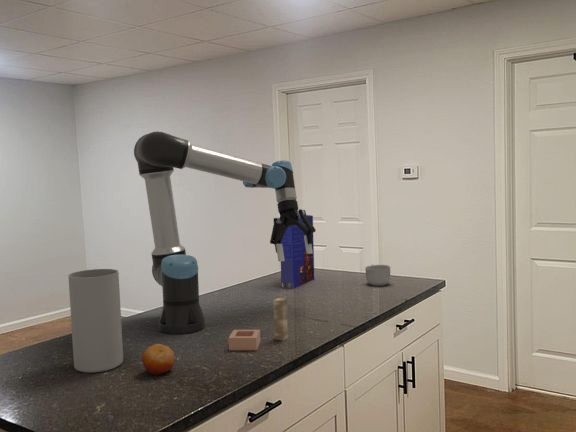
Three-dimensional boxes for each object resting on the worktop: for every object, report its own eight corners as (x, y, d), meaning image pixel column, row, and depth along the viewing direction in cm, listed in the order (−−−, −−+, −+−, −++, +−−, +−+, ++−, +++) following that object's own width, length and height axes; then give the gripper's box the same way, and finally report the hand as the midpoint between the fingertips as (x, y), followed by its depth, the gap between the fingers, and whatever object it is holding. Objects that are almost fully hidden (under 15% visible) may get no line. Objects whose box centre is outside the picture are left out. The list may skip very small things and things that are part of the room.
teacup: (392, 286, 233) (392, 268, 232) (367, 287, 233) (366, 269, 232) (387, 280, 247) (386, 262, 246) (363, 281, 247) (362, 263, 246)
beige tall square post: (274, 339, 165) (273, 300, 164) (279, 336, 167) (277, 298, 166) (283, 340, 163) (282, 300, 162) (288, 337, 166) (286, 298, 165)
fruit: (159, 357, 147) (167, 335, 143) (174, 378, 142) (182, 356, 139) (132, 365, 141) (139, 343, 138) (146, 387, 137) (154, 365, 133)
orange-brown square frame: (228, 350, 156) (228, 337, 155) (234, 341, 164) (233, 329, 163) (256, 350, 155) (256, 337, 155) (260, 341, 163) (260, 329, 163)
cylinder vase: (75, 376, 138) (69, 279, 136) (73, 361, 150) (67, 271, 148) (126, 368, 143) (121, 274, 141) (120, 354, 155) (115, 267, 153)
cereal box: (302, 278, 257) (301, 214, 254) (314, 279, 254) (312, 215, 252) (281, 287, 237) (279, 219, 235) (293, 288, 235) (291, 219, 232)
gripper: (319, 193, 199) (328, 250, 194) (269, 211, 214) (277, 264, 209) (306, 191, 193) (315, 249, 188) (256, 209, 208) (263, 264, 204)
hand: (295, 257), depth 199 cm, fingers open, 13 cm apart
